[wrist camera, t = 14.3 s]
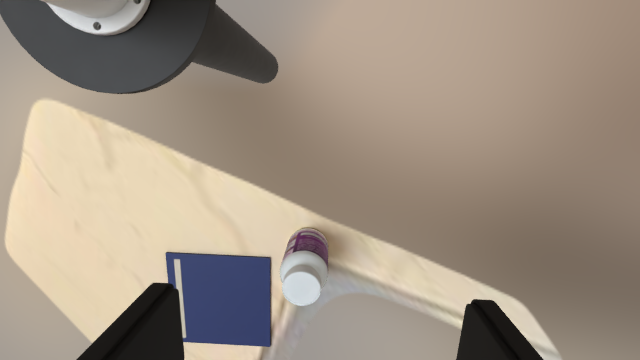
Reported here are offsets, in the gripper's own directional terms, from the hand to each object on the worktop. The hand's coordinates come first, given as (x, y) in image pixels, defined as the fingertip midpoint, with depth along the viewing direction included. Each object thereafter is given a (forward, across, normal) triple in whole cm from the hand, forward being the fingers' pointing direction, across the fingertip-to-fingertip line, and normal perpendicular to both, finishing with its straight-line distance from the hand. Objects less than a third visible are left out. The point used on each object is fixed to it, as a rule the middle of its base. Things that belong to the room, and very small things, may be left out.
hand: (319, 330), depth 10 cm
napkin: (+28, +14, +20) cm, 37 cm away
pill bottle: (+28, +2, +11) cm, 31 cm away
